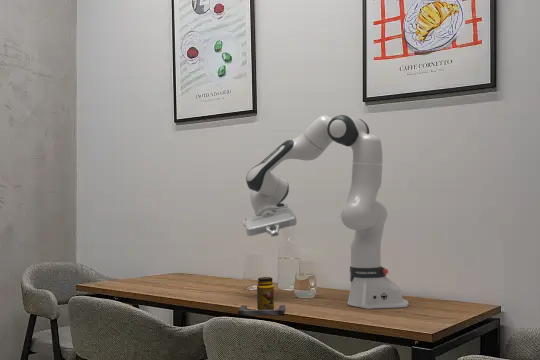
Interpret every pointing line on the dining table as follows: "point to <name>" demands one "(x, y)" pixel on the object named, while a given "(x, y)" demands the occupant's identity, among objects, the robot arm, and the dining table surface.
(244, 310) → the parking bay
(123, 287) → the dining table surface
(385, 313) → the dining table surface
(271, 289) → the condiment
